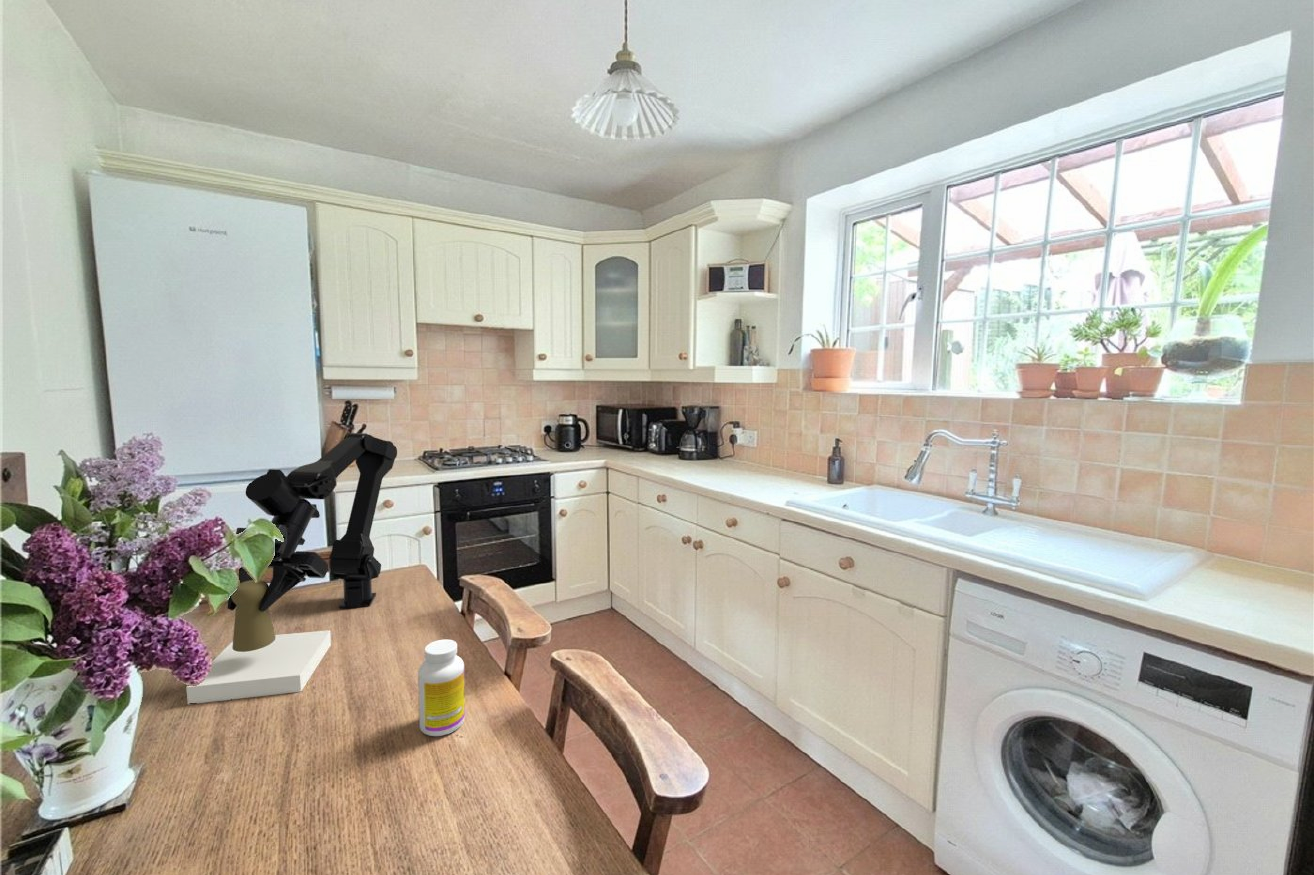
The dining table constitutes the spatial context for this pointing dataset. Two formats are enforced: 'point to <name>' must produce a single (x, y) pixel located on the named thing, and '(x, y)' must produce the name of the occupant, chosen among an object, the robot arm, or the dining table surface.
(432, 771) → the dining table surface
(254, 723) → the dining table surface
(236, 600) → the cork
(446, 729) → the supplement bottle
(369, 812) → the dining table surface
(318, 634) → the base block
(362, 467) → the robot arm
